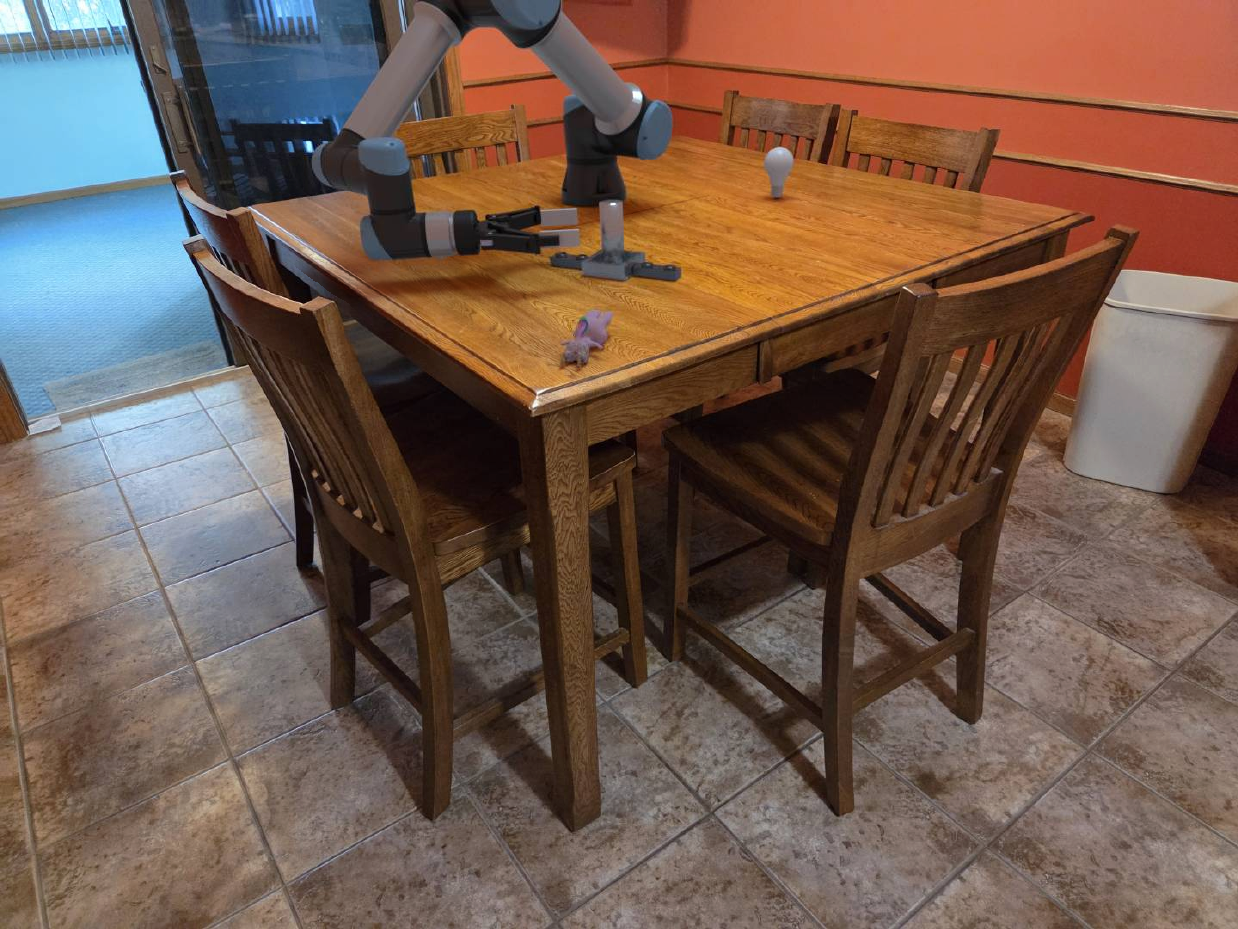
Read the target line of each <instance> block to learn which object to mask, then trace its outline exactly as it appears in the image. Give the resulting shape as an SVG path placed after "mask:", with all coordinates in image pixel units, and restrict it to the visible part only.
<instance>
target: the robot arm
mask: <svg viewBox="0 0 1238 929" xmlns="http://www.w3.org/2000/svg"><path fill="white" fill-rule="evenodd" d="M412 10H413V13H414V17H413V19H412V20H411V21H410V23H409V25H408V26H407V28H406V30H405V31H404V33H403V34H402V36H401V37H400V38H399V40H398V41H397V43H396V45H395V46H394V48H393V49H392V51H391V52H390V55H389V56H388V57H387V59H386V60H385V62H384V63H383V65H382V66H381V68H380V69H379V71H378V72H377V74H376V76H375V77H374V79H373V80H372V82H371V84H370V85H369V87H368V88H367V90H366V91H365V93H364V95H363V96H362V98H361V99H360V100H359V102H358V104H357V105H356V106H355V108H354V109H353V111H352V113H351V114H350V116H349V117H348V119H347V120H346V122H345V123H344V125H343V127H342V128H341V129H340V131H339V133H338V134H337V136H336V137H335V139H334V140H332V141H328V142H324V143H321V144H320V145H318V146H317V147H316V148H315V150H313V153H312V156H311V157H312V158H311V166H312V167H311V168H312V171H313V173H314V175H315V177H316V178H317V179H318V181H319V182H320V183H322V184H324V186H325V185H326V186H327V187H331V188H332V189H336V190H337V191H347V192H352V193H355V194H360V195H363V196H366V197H367V202H368V207H369V214H368V215H364V216H362V217H361V219H360V222H359V232H360V241H361V245H362V249H363V252H364V254H365V255H366V257H368V259H371V260H373V261H374V260H375V261H393V262H394V261H400V260H412V259H424V258H425V259H426V258H428V259H429V258H439V260H441V261H442V260H445V257H455V255H456V254H458V255H459V256H460V257H464V256H477V255H479V254H480V252H481V250H482V251H484V252H485V251H499V252H512V253H520V254H521V253H523V254H532V255H533V254H534V255H541V253H542V252H541V250H542V249H543V250H544V249H558V248H559V249H560V248H577V247H581V239H580V228H572V229H570V228H569V229H568V228H567V229H555V230H554V229H553V230H540V231H539V233H537V232H531V231H526V229H529V228H532V227H535V226H539V225H541V227H555V226H556V227H559V226H572V225H574V226H575V225H578V224H579V223H578V222H579V221H578V209H577V208H576V207H599V202H601V201H604V200H621V201H622V202H624V201H625V200H626V198H627V187H626V184H625V181H624V178H623V175H622V172H621V170H620V169H621V168H620V167H619V164H618V157H625V158H630V159H631V158H633V159H638V160H640V161H646V160H649V161H653V160H656V159H657V158H660V157H661V156H663V154H664V153H665V151H666V150H667V148H668V146H669V144H670V142H671V138H672V134H673V124H674V123H673V114H672V111H671V108H670V106H669V105H668V104H667V103H666V102H664V101H662V100H661V101H660V100H658V99H655V100H653V99H650V98H649V97H648V96H647V95H646V94H645V93H644V91H642V90H641V88H640V87H639V86H638V85H637V84H635V83H633V82H629V81H628V82H624V80H623V79H621V77H620V76H619V75H618V74H617V73H616V71H615V70H614V69H613V68H612V67H611V65H609V63H608V62H607V61H606V60H605V59H604V57H603V56H602V55H600V53H599V52H598V51H597V50H596V48H595V47H594V46H593V45H592V44H591V43H590V41H588V39H587V38H586V37H585V35H584V34H583V33H581V31H580V30H579V29H578V28H577V27H576V26H575V24H574V23H573V22H572V21H571V20H570V19H569V18H568V16H567V15H566V14H565V12H563V0H417V1H416V2H415V3H414V5H413V8H412ZM478 28H487V29H488V28H494V29H496V30H498V31H500V32H501V34H502V35H503V36H504V37H506V39H507V40H508V41H509V42H510V43H512V44H513V45H514V47H516V48H517V49H518V50H519V49H520V50H529V49H530V51H531V52H532V53H533V54H534V55H535V56H536V57H537V58H538V59H539V60H540V61H541V62H542V63H543V64H544V65H545V66H546V67H547V68H548V69H549V70H550V71H551V72H552V73H553V74H554V76H556V78H557V79H559V81H561V82H562V83H563V85H564V86H565V87H566V88H568V90H569V91H571V93H572V94H568V95H566V96H565V98H564V99H563V102H562V107H563V108H562V111H563V112H562V113H563V114H562V122H563V123H562V124H563V130H564V131H563V132H564V142H565V144H564V146H565V154H566V155H565V156H566V169H565V173H564V176H563V182H562V186H561V190H560V194H561V201H562V203H564V204H566V205H571V206H574V208H572V207H571V208H556V209H555V208H553V209H541V206H540V205H539V204H538V205H537V204H536V205H534V206H532V207H529V208H527V207H526V208H521V209H517V210H512V211H505V212H501V213H494V214H493V213H492V214H485V215H484V220H479V219H478V214H477V212H476V210H474V209H464V210H463V209H462V210H461V209H460V210H459V209H458V210H455V211H454V212H453V213H452V212H451V211H450V210H439V211H438V210H437V211H426V212H417V209H416V202H415V198H414V190H413V182H412V175H411V168H410V166H411V165H410V161H409V160H408V155H407V151H406V146H405V143H404V142H403V140H402V139H400V138H398V137H394V136H395V134H396V132H397V131H398V129H399V128H400V126H401V125H402V123H403V122H404V120H405V119H406V117H407V116H408V114H409V113H410V111H411V110H412V108H413V107H414V104H415V103H416V101H417V100H418V99H419V97H420V95H421V94H422V92H423V91H424V89H425V88H426V87H427V84H428V83H429V82H430V79H431V78H432V77H433V75H434V73H435V72H436V70H437V69H438V68H439V66H440V64H441V63H442V61H443V59H444V58H445V56H446V55H447V53H448V52H449V51H450V48H452V47H458V46H460V45H461V43H462V41H463V40H464V38H466V36H467V34H469V33H470V32H472V31H473V30H476V29H478Z"/></svg>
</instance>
